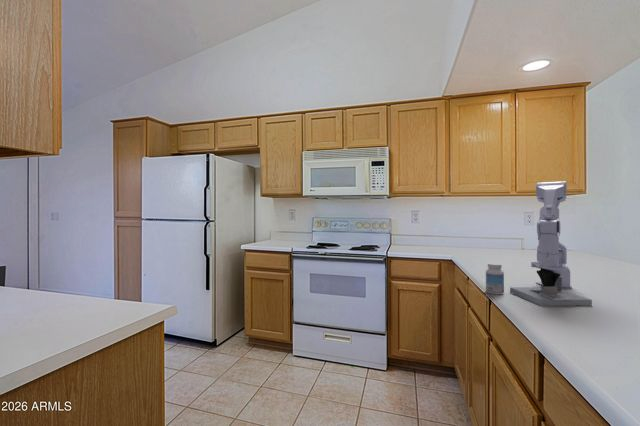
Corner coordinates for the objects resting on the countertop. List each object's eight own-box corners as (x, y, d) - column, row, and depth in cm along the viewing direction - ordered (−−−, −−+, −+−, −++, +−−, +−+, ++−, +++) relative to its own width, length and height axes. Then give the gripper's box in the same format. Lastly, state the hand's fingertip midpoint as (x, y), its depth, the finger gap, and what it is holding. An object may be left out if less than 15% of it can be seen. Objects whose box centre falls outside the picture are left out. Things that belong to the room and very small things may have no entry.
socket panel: (553, 292, 114) (553, 287, 114) (591, 305, 98) (591, 299, 98) (510, 292, 114) (510, 287, 114) (541, 305, 98) (541, 299, 98)
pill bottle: (507, 294, 111) (507, 265, 110) (491, 294, 111) (491, 265, 111) (498, 290, 117) (498, 262, 117) (482, 290, 117) (482, 262, 117)
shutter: (557, 294, 103) (557, 285, 103) (573, 300, 97) (573, 291, 97) (539, 294, 103) (539, 286, 103) (553, 300, 97) (553, 291, 97)
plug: (553, 287, 113) (553, 272, 113) (561, 290, 109) (561, 275, 109) (542, 287, 113) (542, 272, 113) (551, 290, 109) (551, 275, 109)
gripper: (523, 250, 112) (523, 285, 112) (553, 256, 97) (553, 296, 97) (541, 250, 112) (541, 285, 112) (574, 256, 97) (574, 296, 97)
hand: (548, 290), depth 105 cm, fingers closed
